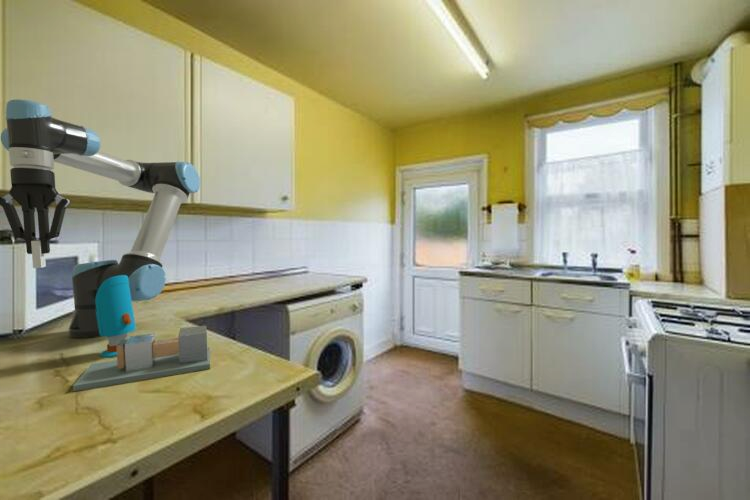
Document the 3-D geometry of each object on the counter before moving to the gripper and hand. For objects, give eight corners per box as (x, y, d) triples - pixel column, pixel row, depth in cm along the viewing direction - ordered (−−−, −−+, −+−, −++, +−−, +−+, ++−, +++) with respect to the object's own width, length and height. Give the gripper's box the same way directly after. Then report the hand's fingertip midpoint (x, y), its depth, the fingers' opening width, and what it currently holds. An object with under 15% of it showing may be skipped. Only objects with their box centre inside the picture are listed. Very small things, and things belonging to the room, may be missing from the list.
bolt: (122, 361, 82) (121, 339, 82) (193, 351, 89) (192, 331, 88) (117, 369, 78) (116, 346, 77) (192, 357, 84) (192, 336, 84)
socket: (181, 354, 89) (180, 328, 88) (207, 350, 91) (206, 325, 91) (179, 364, 82) (178, 336, 81) (207, 360, 84) (206, 333, 84)
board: (91, 368, 83) (91, 363, 83) (209, 351, 94) (209, 347, 94) (73, 391, 71) (72, 385, 71) (209, 368, 82) (209, 363, 82)
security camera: (113, 272, 98) (142, 273, 96) (116, 346, 99) (146, 348, 97) (82, 276, 90) (114, 277, 88) (87, 356, 91) (118, 359, 89)
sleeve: (131, 362, 84) (130, 336, 83) (156, 358, 86) (154, 333, 85) (126, 372, 78) (124, 344, 77) (152, 368, 80) (151, 341, 80)
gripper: (-15, 164, 76) (-6, 270, 78) (62, 168, 82) (68, 267, 83) (3, 169, 83) (10, 267, 84) (73, 173, 89) (78, 264, 90)
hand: (39, 267), depth 84 cm, fingers closed
